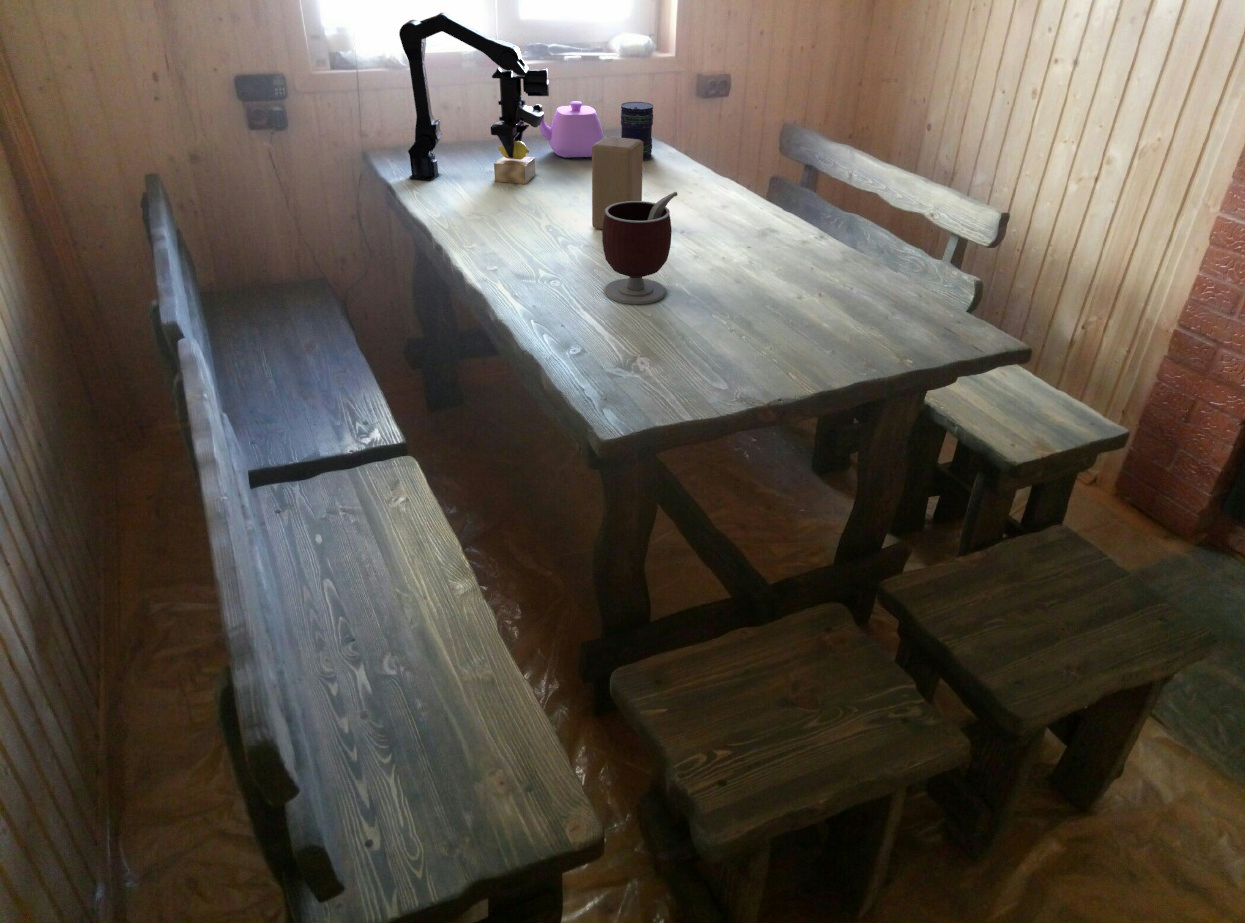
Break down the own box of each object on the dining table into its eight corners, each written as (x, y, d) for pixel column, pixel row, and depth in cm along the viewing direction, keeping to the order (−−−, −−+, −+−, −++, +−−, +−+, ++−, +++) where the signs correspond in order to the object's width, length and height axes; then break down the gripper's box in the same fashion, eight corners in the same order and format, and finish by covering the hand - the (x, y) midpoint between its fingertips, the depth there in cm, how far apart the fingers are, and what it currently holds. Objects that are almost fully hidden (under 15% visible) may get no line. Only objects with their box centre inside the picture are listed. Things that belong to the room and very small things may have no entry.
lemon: (496, 159, 244) (495, 141, 242) (502, 155, 248) (501, 137, 246) (527, 162, 243) (526, 144, 240) (532, 157, 247) (531, 140, 244)
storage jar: (622, 151, 274) (623, 101, 266) (653, 153, 273) (655, 102, 265) (617, 160, 266) (618, 108, 257) (649, 161, 265) (651, 109, 256)
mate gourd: (617, 310, 175) (619, 211, 164) (591, 284, 185) (591, 190, 174) (687, 298, 180) (692, 201, 169) (658, 274, 191) (661, 182, 179)
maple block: (494, 181, 246) (493, 163, 243) (505, 172, 253) (504, 154, 250) (525, 184, 244) (524, 165, 241) (535, 175, 251) (534, 157, 249)
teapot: (597, 142, 283) (597, 92, 274) (607, 160, 265) (607, 107, 257) (527, 144, 279) (524, 94, 271) (532, 162, 262) (529, 109, 254)
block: (642, 221, 219) (644, 139, 208) (629, 234, 211) (631, 149, 200) (604, 216, 222) (605, 134, 211) (590, 229, 214) (590, 144, 203)
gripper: (528, 105, 227) (531, 166, 236) (549, 90, 242) (551, 148, 251) (488, 102, 229) (492, 163, 238) (511, 88, 244) (514, 146, 253)
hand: (514, 155), depth 245 cm, fingers closed on lemon, 5 cm apart
